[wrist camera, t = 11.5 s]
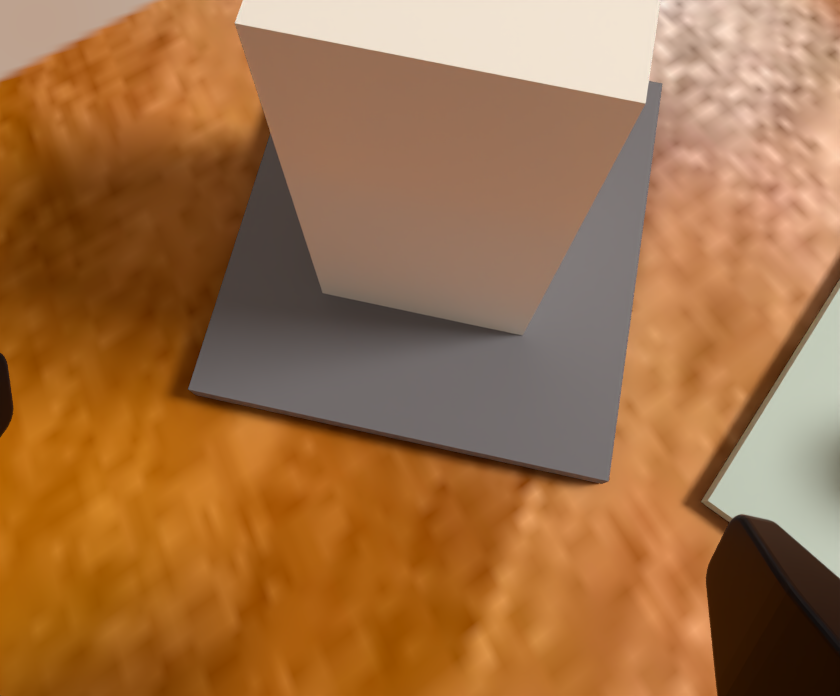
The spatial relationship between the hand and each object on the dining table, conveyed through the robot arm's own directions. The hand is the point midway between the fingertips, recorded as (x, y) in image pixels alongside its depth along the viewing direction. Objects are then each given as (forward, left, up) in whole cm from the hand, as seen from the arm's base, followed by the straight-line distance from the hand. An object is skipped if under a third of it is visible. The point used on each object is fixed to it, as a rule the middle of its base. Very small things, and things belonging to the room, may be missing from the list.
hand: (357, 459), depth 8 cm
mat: (+7, 0, -8) cm, 11 cm away
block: (+7, 0, -7) cm, 10 cm away
